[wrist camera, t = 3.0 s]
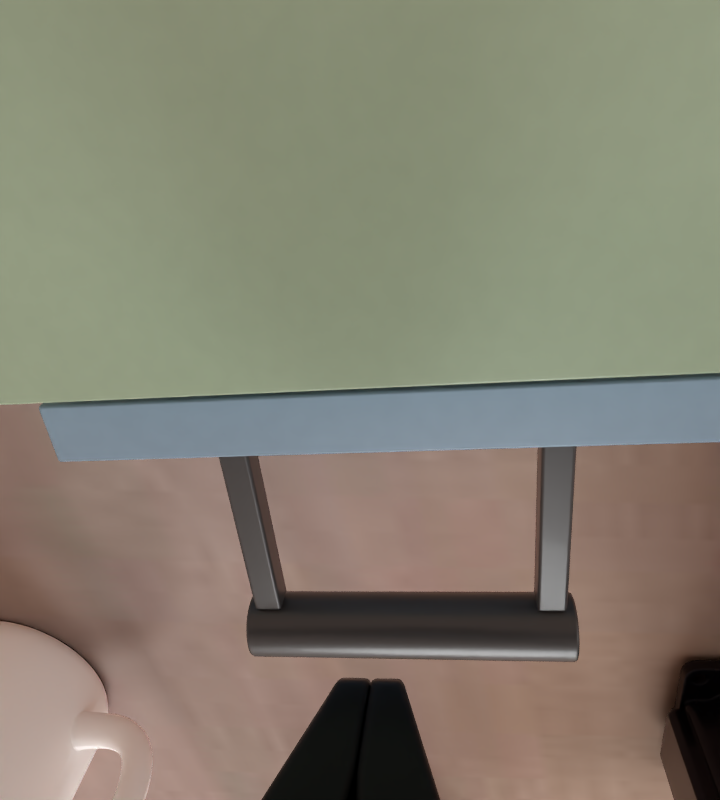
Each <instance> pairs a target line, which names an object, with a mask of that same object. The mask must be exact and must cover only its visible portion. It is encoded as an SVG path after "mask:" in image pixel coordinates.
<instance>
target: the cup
mask: <svg viewBox="0 0 720 800" xmlns="http://www.w3.org/2000/svg"><path fill="white" fill-rule="evenodd" d="M98 748H103V749H110V750H113V751H116V752H118V753H119V754H120V756H121V759H122V768H121V774H120V779H119V783H118V786H117V789H116V792H115V794H114V797H113V799H112V800H145V798H146V794H147V791H148V788H149V784H150V779H151V774H152V764H153V756H152V749H151V744H150V741H149V738H148V736H147V734H146V732H145V731H144V730H143V729H142V728H141V727H140V726H139V725H138V724H137V723H136V722H134V721H133V720H131V719H129V718H127V717H124V716H121V715H117V714H111V713H108V701H107V695H106V692H105V689H104V686H103V684H102V682H101V680H100V678H99V677H98V675H97V674H96V672H95V671H94V670H93V668H92V667H91V666H90V665H89V664H88V663H87V662H86V661H85V660H84V659H83V658H82V657H81V656H80V655H79V654H78V653H76V652H75V651H74V650H72V649H71V648H70V647H68V646H67V645H65V644H64V643H62V642H61V641H59V640H57V639H55V638H53V637H51V636H49V635H47V634H45V633H43V632H41V631H38V630H36V629H33V628H30V627H27V626H23V625H20V624H16V623H11V622H5V621H0V800H72V799H73V797H74V795H75V793H76V791H77V789H78V787H79V785H80V783H81V781H82V779H83V777H84V775H85V773H86V770H87V768H88V766H89V764H90V762H91V760H92V758H93V756H94V754H95V752H96V750H97V749H98Z"/></svg>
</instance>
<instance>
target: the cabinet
mask: <svg viewBox="0 0 720 800" xmlns="http://www.w3.org/2000/svg"><path fill="white" fill-rule="evenodd" d="M705 373H720V0H0V405H9V404H31V403H54V402H76V401H98V400H121V399H143V398H166V397H188V396H211V395H233V394H256V393H278V392H301V391H323V390H345V389H368V388H390V387H413V386H435V385H458V384H480V383H503V382H525V381H548V380H570V379H593V378H615V377H637V376H660V375H682V374H705Z"/></svg>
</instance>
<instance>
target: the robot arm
mask: <svg viewBox="0 0 720 800" xmlns="http://www.w3.org/2000/svg"><path fill="white" fill-rule="evenodd" d="M660 755H661V759H662V763H663V766H664V769H665V772H666V775H667V779H668V782H669V785H670V788H671V791H672V795H673V798H674V800H720V661H716V660H695V661H690V662H688V663H686V664H685V665H684V666H683V667H682V669H681V673H680V679H679V685H678V690H677V696H676V702H675V707H674V708H672V709H671V710H670V712H669V713H668V714H667V718H666V724H665V730H664V736H663V742H662V747H661V753H660ZM262 800H440V798H439V795H438V791H437V788H436V785H435V782H434V779H433V775H432V772H431V769H430V766H429V763H428V759H427V756H426V753H425V750H424V747H423V744H422V740H421V737H420V734H419V731H418V728H417V724H416V721H415V718H414V715H413V712H412V708H411V705H410V702H409V699H408V696H407V692H406V689H405V686H404V684H403V682H402V681H401V680H400V679H374V680H373V681H372V682H370V680H368V679H366V678H342V679H340V680H339V681H338V682H337V683H336V684H335V686H334V687H333V689H332V690H331V692H330V693H329V695H328V696H327V698H326V700H325V701H324V703H323V704H322V706H321V707H320V709H319V711H318V712H317V714H316V715H315V717H314V718H313V720H312V722H311V723H310V725H309V726H308V728H307V729H306V731H305V732H304V734H303V736H302V737H301V739H300V740H299V742H298V743H297V745H296V747H295V748H294V750H293V751H292V753H291V754H290V756H289V758H288V759H287V761H286V762H285V764H284V765H283V767H282V768H281V770H280V772H279V773H278V775H277V776H276V778H275V779H274V781H273V783H272V784H271V786H270V787H269V789H268V790H267V792H266V794H265V795H264V797H263V798H262Z"/></svg>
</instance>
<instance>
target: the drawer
mask: <svg viewBox="0 0 720 800" xmlns="http://www.w3.org/2000/svg"><path fill="white" fill-rule="evenodd" d="M39 410H40V413H41V416H42V418H43V421H44V424H45V426H46V429H47V431H48V434H49V437H50V439H51V442H52V445H53V447H54V450H55V452H56V455H57V458H58V460H59V461H61V462H66V461H100V460H134V459H167V458H201V457H219V459H220V463H221V467H222V471H223V476H224V480H225V484H226V488H227V492H228V496H229V500H230V504H231V508H232V512H233V516H234V521H235V525H236V529H237V533H238V537H239V541H240V545H241V549H242V553H243V557H244V561H245V566H246V570H247V574H248V578H249V582H250V586H251V590H252V594H253V597H252V600H251V602H250V606H249V610H248V616H247V642H248V647H249V651H250V653H251V654H252V655H254V656H263V657H320V658H378V659H435V660H492V661H549V662H575V661H577V660H578V656H579V626H578V618H577V611H576V606H575V602H574V599H573V597H572V595H571V593H569V592H568V585H569V567H570V550H571V532H572V514H573V497H574V479H575V461H576V446H603V445H637V444H670V443H704V442H720V373H705V374H682V375H660V376H637V377H615V378H593V379H570V380H548V381H525V382H503V383H480V384H458V385H435V386H413V387H390V388H368V389H345V390H323V391H301V392H278V393H256V394H233V395H211V396H188V397H166V398H143V399H121V400H98V401H76V402H54V403H43V404H42V405H40V406H39ZM536 447H538V458H537V499H536V540H535V582H534V592H312V591H286V587H285V582H284V578H283V573H282V568H281V563H280V559H279V554H278V549H277V544H276V540H275V535H274V530H273V525H272V521H271V516H270V511H269V507H268V502H267V497H266V492H265V488H264V483H263V478H262V473H261V469H260V464H259V459H258V456H268V455H301V454H335V453H368V452H402V451H435V450H469V449H502V448H536Z"/></svg>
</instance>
